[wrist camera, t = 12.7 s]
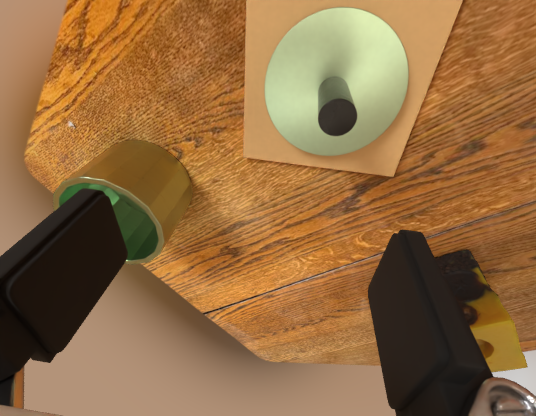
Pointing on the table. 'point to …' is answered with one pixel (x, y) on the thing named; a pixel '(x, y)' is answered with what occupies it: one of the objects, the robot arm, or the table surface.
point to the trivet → (420, 75)
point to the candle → (483, 311)
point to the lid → (336, 81)
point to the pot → (136, 193)
